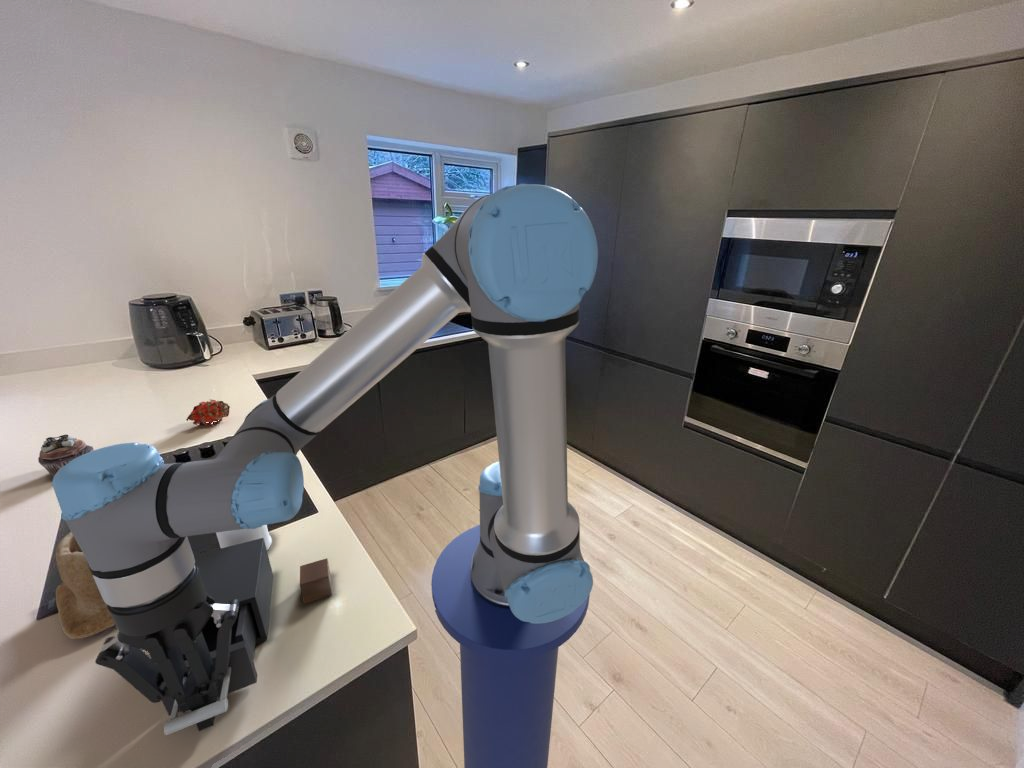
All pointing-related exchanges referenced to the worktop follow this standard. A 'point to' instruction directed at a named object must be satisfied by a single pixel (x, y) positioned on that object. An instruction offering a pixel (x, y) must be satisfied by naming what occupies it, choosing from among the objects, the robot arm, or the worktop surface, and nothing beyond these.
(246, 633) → the drawer
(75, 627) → the stone cup
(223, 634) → the robot arm
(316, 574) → the block
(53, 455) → the cupcake
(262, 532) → the mug
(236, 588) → the cabinet
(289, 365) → the worktop surface
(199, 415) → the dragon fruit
